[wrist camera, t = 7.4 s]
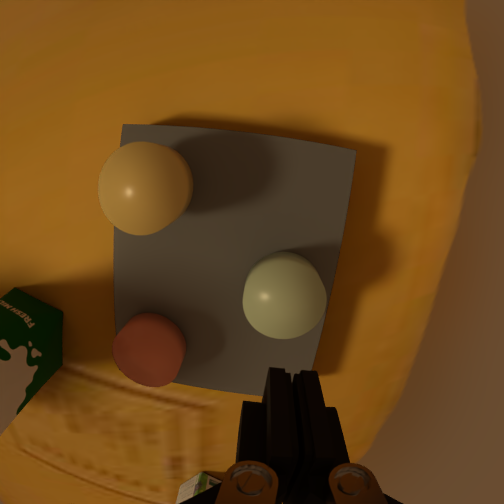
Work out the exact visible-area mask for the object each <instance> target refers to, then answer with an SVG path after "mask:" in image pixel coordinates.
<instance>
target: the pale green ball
mask: <svg viewBox="0 0 504 504" xmlns="http://www.w3.org/2000/svg"><path fill="white" fill-rule="evenodd" d="M326 302H327V297H326V291H325V287H324V285H323V283H322V281H321V279H320V277H319V275H318V272H317V270H316V269H315V267H314V266H313V265H312V264H311V263H310V262H309V261H308V260H307V259H306V258H304V257H302V256H300V255H298V254H295V253H291V252H277V253H272V254H269V255H267V256H265V257H263V258H261V259H260V260H259V261H257V262H256V263H255V264H254V265H253V267H252V268H251V269H250V271H249V273H248V275H247V278H246V282H245V288H244V294H243V309H244V313H245V316H246V318H247V320H248V321H249V323H250V324H251V325H252V326H253V327H254V328H255V329H256V330H257V331H258V332H260V333H262V334H263V335H266V336H268V337H271V338H276V339H291V338H295V337H299V336H301V335H303V334H305V333H307V332H309V331H310V330H311V329H313V328H314V327H315V326H316V325H317V324H318V322H319V321H320V319H321V318H322V316H323V314H324V311H325V308H326Z"/></svg>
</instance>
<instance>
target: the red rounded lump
mask: <svg viewBox="0 0 504 504" xmlns="http://www.w3.org/2000/svg"><path fill="white" fill-rule="evenodd" d="M112 353H113V357H114V360H115V362H116V364H117V366H118V367H119V369H120V370H121V371H122V372H123V373H124V374H125V375H126V376H127V377H128V378H130V379H131V380H133V381H134V382H136V383H139V384H141V385H144V386H149V387H160V386H164V385H167V384H169V383H170V382H172V381H173V380H174V379H175V377H176V376H177V374H178V372H179V369H180V367H181V364H182V362H183V359H184V357H185V354H186V341H185V338H184V336H183V334H182V332H181V330H180V329H179V328H178V327H177V326H176V325H175V324H174V323H173V322H172V321H171V320H169V319H168V318H166V317H164V316H162V315H159V314H155V313H141V314H138V315H135V316H134V317H132V318H131V319H130V320H129V321H128V322H127V323H126V325H125V326H124V327H123V328H122V330H121V331H120V332H119V333H118V334H117V336H116V337H115V339H114V341H113V345H112Z"/></svg>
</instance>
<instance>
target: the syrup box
mask: <svg viewBox="0 0 504 504" xmlns="http://www.w3.org/2000/svg"><path fill="white" fill-rule="evenodd" d="M220 482H222V481H220V480H218V479H216V478H213V477H211V476H209V475H207V474H206V473H204V472H201V473H199V474H198V475H196V476H194V477H193V478H191V479H190V480H188V481H187V482H185V483H184V484H182V485H181V486H180V489H179V493H178V497H177V501H176V504H179V503H181V502H183V501H185V500H187V499H189V498H191V497H193V496H195V495H197V494H199V493H201V492H203V491H205V490H207V489H209V488H211V487H213V486H215V485H217V484H218V483H220Z"/></svg>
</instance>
